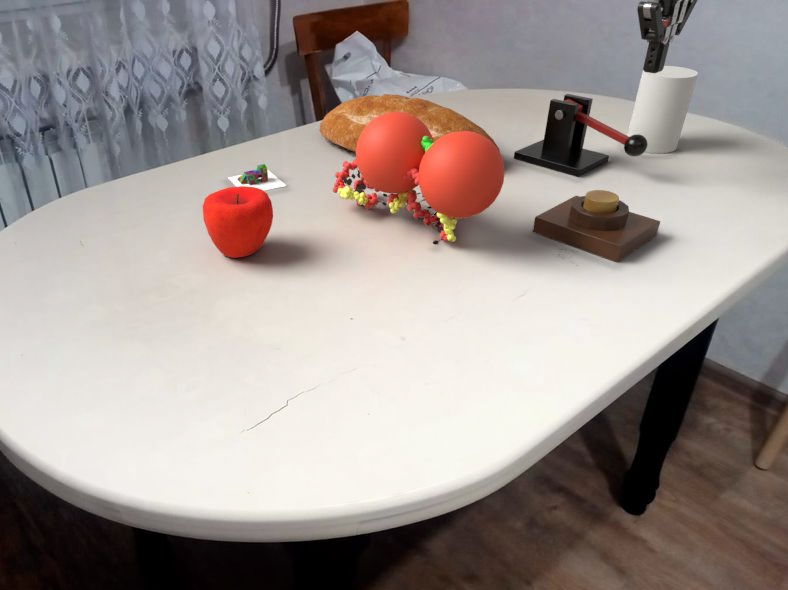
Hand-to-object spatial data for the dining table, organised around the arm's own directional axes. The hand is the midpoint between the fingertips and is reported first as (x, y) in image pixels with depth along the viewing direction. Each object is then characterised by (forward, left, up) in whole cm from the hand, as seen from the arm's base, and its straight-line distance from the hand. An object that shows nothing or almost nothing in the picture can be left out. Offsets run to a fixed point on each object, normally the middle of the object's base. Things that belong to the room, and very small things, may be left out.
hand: (652, 71), depth 93 cm
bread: (+33, +14, -16) cm, 40 cm away
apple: (+22, +57, -16) cm, 63 cm away
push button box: (-7, +21, -16) cm, 27 cm away
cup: (+4, -17, -16) cm, 24 cm away
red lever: (+6, 0, -11) cm, 12 cm away
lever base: (+11, 0, -16) cm, 19 cm away
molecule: (+12, +36, -16) cm, 41 cm away
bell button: (-7, +21, -12) cm, 25 cm away
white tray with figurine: (+40, +41, -16) cm, 60 cm away
